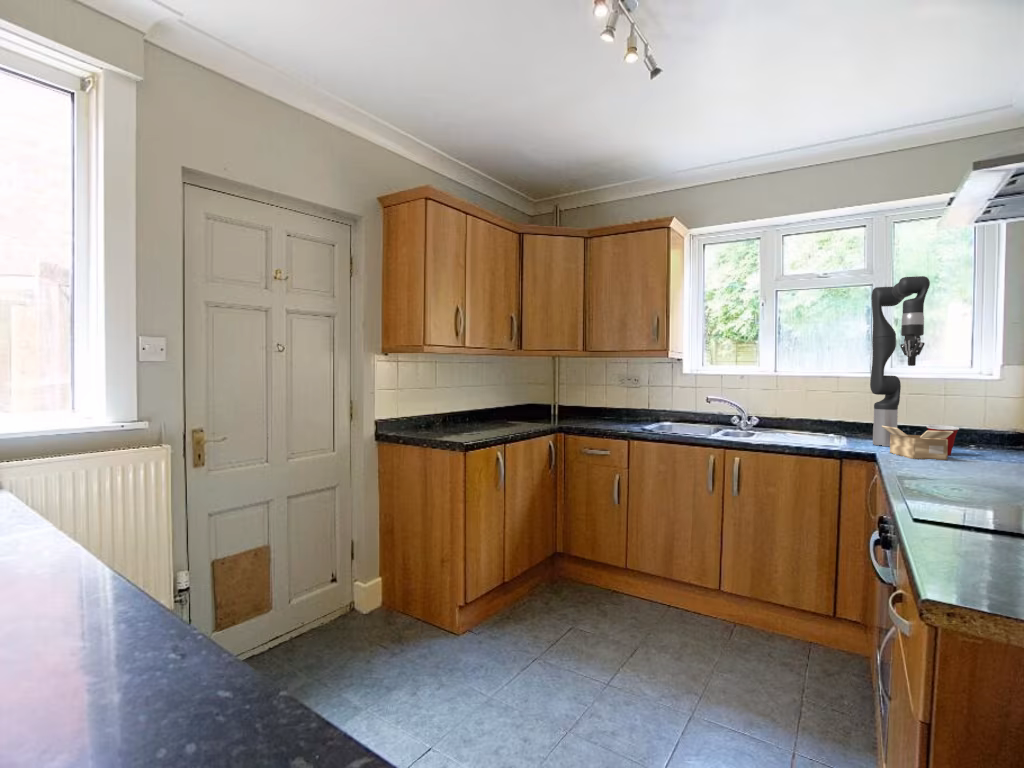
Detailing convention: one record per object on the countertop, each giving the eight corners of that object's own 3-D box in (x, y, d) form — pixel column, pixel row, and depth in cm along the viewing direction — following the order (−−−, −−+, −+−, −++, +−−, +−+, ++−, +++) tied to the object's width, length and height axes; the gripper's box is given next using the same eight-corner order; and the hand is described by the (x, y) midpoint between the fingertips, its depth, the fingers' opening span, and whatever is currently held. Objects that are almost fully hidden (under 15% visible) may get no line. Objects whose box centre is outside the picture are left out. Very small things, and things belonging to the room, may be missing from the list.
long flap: (892, 433, 219) (891, 433, 220) (882, 425, 220) (881, 426, 220) (908, 435, 209) (907, 436, 209) (897, 428, 209) (896, 428, 209)
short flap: (919, 436, 205) (920, 437, 205) (926, 430, 201) (927, 431, 201) (945, 437, 204) (945, 438, 204) (953, 431, 200) (953, 432, 199)
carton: (889, 453, 222) (890, 434, 221) (921, 454, 220) (921, 435, 220) (913, 459, 206) (913, 438, 206) (947, 460, 204) (948, 439, 204)
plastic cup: (928, 455, 218) (929, 426, 218) (922, 452, 228) (923, 424, 228) (962, 457, 213) (963, 427, 213) (954, 454, 223) (955, 425, 223)
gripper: (932, 322, 214) (931, 365, 214) (912, 326, 227) (911, 366, 227) (912, 322, 215) (911, 365, 215) (893, 325, 228) (892, 366, 228)
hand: (911, 365), depth 221 cm, fingers closed
